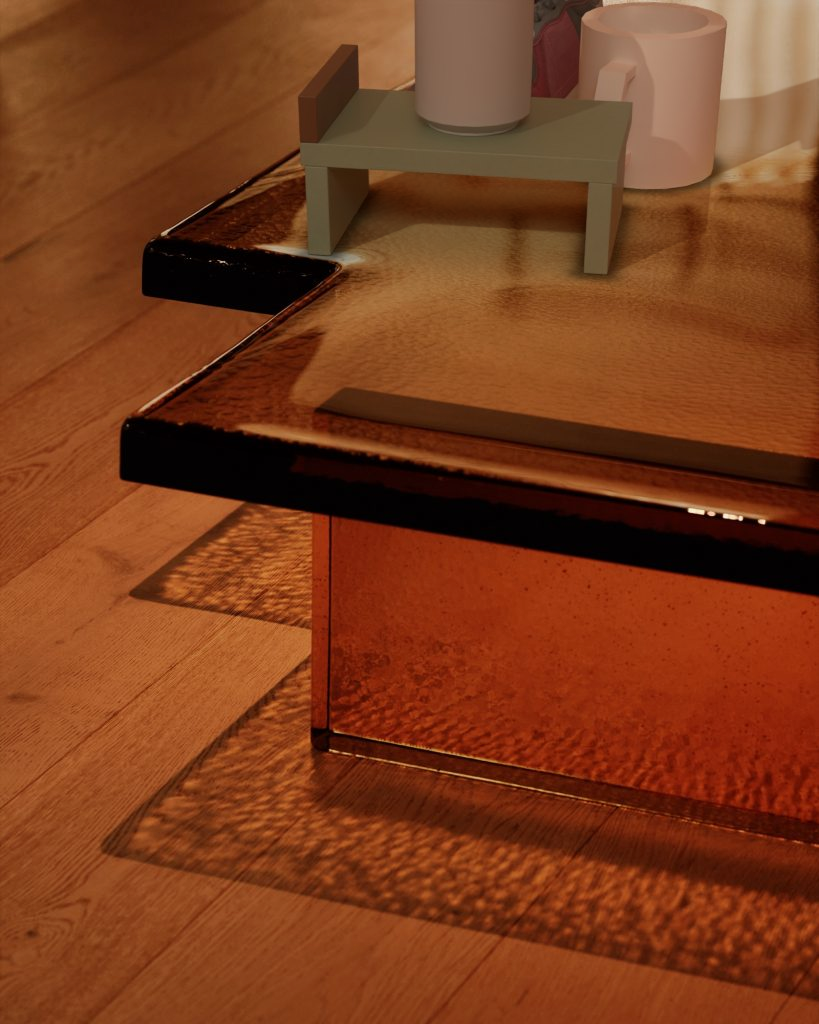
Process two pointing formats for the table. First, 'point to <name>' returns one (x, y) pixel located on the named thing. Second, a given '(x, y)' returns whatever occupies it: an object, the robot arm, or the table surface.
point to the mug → (658, 85)
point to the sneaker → (556, 47)
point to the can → (473, 64)
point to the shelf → (452, 151)
